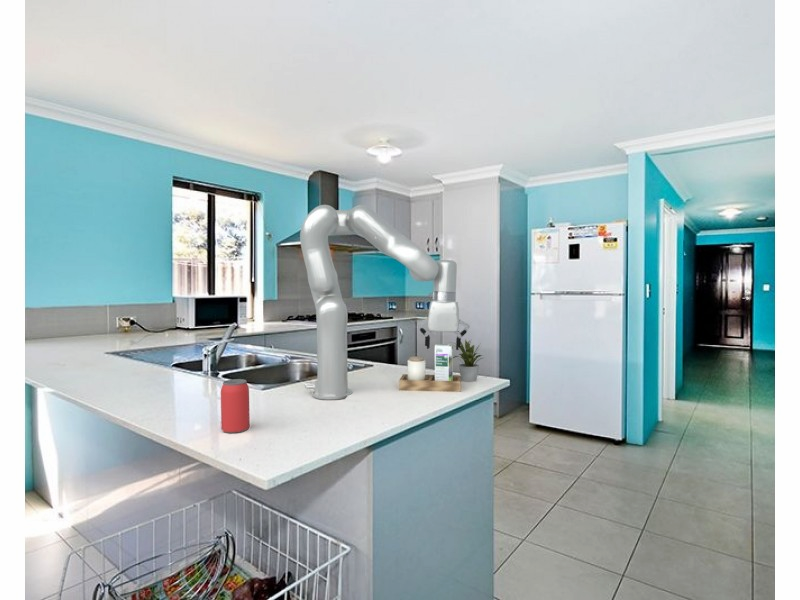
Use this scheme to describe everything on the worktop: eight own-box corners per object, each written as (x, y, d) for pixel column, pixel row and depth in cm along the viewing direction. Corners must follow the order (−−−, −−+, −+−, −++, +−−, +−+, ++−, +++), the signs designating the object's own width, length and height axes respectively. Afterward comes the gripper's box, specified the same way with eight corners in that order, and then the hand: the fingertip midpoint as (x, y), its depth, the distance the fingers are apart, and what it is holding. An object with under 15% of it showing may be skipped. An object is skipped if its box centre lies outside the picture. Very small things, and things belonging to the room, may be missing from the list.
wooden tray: (398, 392, 154) (398, 380, 154) (403, 385, 164) (403, 374, 164) (460, 394, 151) (460, 381, 151) (460, 387, 162) (460, 375, 162)
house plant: (437, 380, 172) (437, 336, 171) (466, 376, 180) (466, 333, 179) (463, 388, 160) (463, 340, 159) (493, 383, 168) (493, 337, 167)
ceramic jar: (406, 388, 156) (406, 358, 156) (408, 384, 162) (408, 355, 162) (424, 389, 155) (424, 359, 155) (426, 385, 161) (426, 356, 161)
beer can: (225, 426, 119) (224, 378, 119) (252, 425, 120) (251, 378, 119) (217, 434, 112) (216, 384, 112) (246, 433, 113) (245, 383, 113)
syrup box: (434, 389, 155) (434, 345, 154) (436, 385, 161) (436, 343, 160) (451, 390, 154) (451, 345, 153) (453, 386, 160) (453, 343, 159)
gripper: (417, 296, 154) (415, 349, 154) (470, 298, 151) (469, 351, 152) (419, 296, 161) (417, 346, 162) (470, 298, 159) (468, 348, 159)
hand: (442, 348), depth 157 cm, fingers open, 9 cm apart
